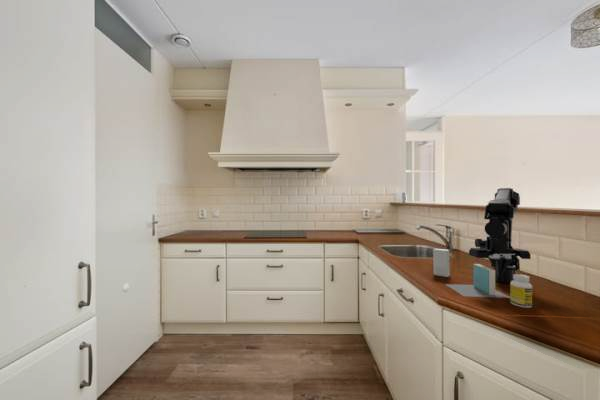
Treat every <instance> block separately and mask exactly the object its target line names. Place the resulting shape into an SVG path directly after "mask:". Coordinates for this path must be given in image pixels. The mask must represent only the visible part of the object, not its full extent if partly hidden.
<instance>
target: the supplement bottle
mask: <svg viewBox="0 0 600 400" xmlns="http://www.w3.org/2000/svg"><path fill="white" fill-rule="evenodd" d="M513 279H514V280H513V281H511V283H510V284H509V285H510V287H509V289H510V290H509V292H510V293H509V295H510V296H509V297H510V298H509V300H510V301H509V302H510V304H512V305H514V306H515V307H516V306H518V307H521V308H532V307H533V285H532V284H531V283H530V276H529V275H524V274H521V273H515V274H514V275H513Z"/></svg>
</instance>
